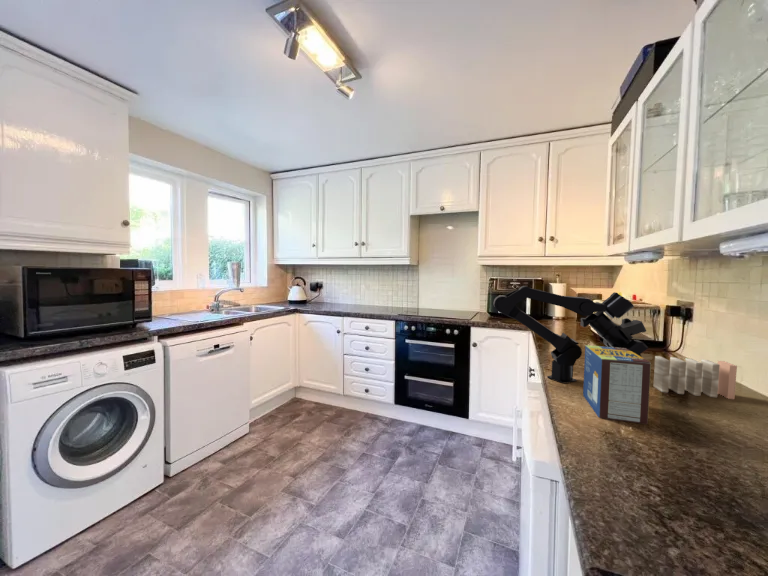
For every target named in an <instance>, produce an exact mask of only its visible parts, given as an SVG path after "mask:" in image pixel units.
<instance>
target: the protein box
mask: <svg viewBox="0 0 768 576" xmlns="http://www.w3.org/2000/svg"><path fill="white" fill-rule="evenodd" d="M584 347H585V348H584V366H583V367H584V369H583V387H582V389H583V392H582V393H583V394H582V396H583V397H584V399H585V400H586V402H587V403H588V405H589V406H590V407H591V409H592V410H593V412H594V413H595V414H596V416H597V417H598V418H599V419H606V420H612V421H620V422H629V423H636V424H642V425H648V423H649V407H650V388H651V387H650V386H651V373H652V372H651V369H652V367H651V366H652V363H651V361H649V360H648V359H646V358H644V357H643V356H642V357H640V356H639V355H637V354H635V353H634V352H632V351H630V350H628V349H627V348H617V347H607V346H604V345H603V346H601V345H588V344H585V345H584Z"/></svg>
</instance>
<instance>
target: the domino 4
mask: <svg viewBox="0 0 768 576" xmlns="http://www.w3.org/2000/svg"><path fill="white" fill-rule="evenodd" d="M700 362H701V363H703V368H702V382H701V393H702V392H703V394H704V395H706V396H708V397H710V398H716V399H717V398H718V395H719V394H718V381H719V367H720V365H719V364H717V363H718V362H717V363H716V362H714V361H712V360H709V359H701V361H700Z"/></svg>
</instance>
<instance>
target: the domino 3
mask: <svg viewBox="0 0 768 576" xmlns="http://www.w3.org/2000/svg"><path fill="white" fill-rule="evenodd" d="M685 362H686V375H685V390H684V391H686V392H687V391H688V392H687V393H689V394H691V395H693V396H696V397H697V396H698V397H701V394H702V392H701V382H702V368H703V363H701V361H698V360H697V359H696V360H695V359H694V358H689V357H688V358H686V357H685Z"/></svg>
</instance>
